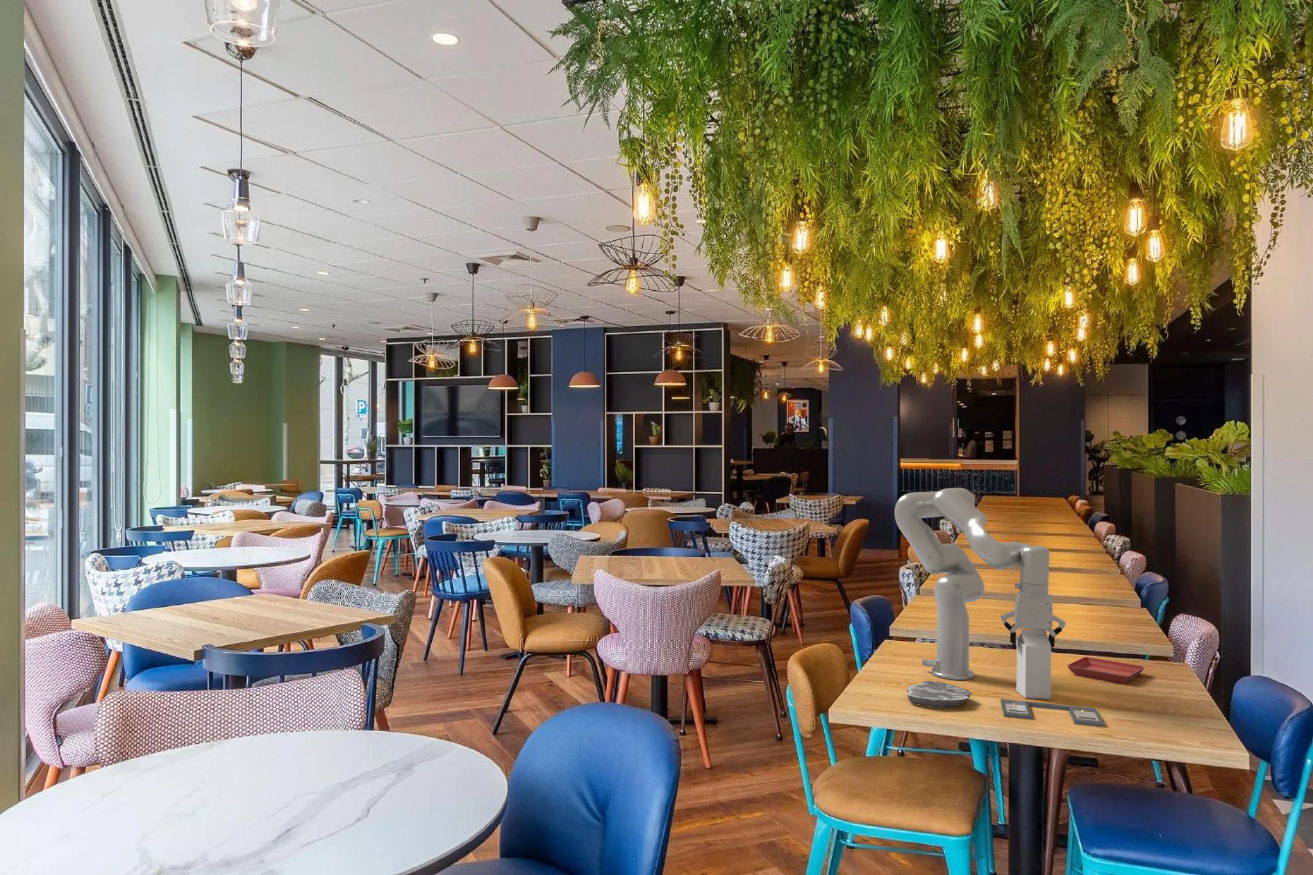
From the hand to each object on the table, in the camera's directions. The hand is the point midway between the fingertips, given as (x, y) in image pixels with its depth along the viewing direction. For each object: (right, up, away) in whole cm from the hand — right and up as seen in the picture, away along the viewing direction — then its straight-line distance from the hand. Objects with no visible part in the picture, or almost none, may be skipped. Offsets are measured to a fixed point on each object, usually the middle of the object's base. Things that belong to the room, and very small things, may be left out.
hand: (1031, 647), depth 247 cm
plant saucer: (+34, -15, +23) cm, 43 cm away
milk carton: (0, -14, -1) cm, 14 cm away
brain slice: (-29, -14, -7) cm, 33 cm away
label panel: (-3, -14, -19) cm, 23 cm away
